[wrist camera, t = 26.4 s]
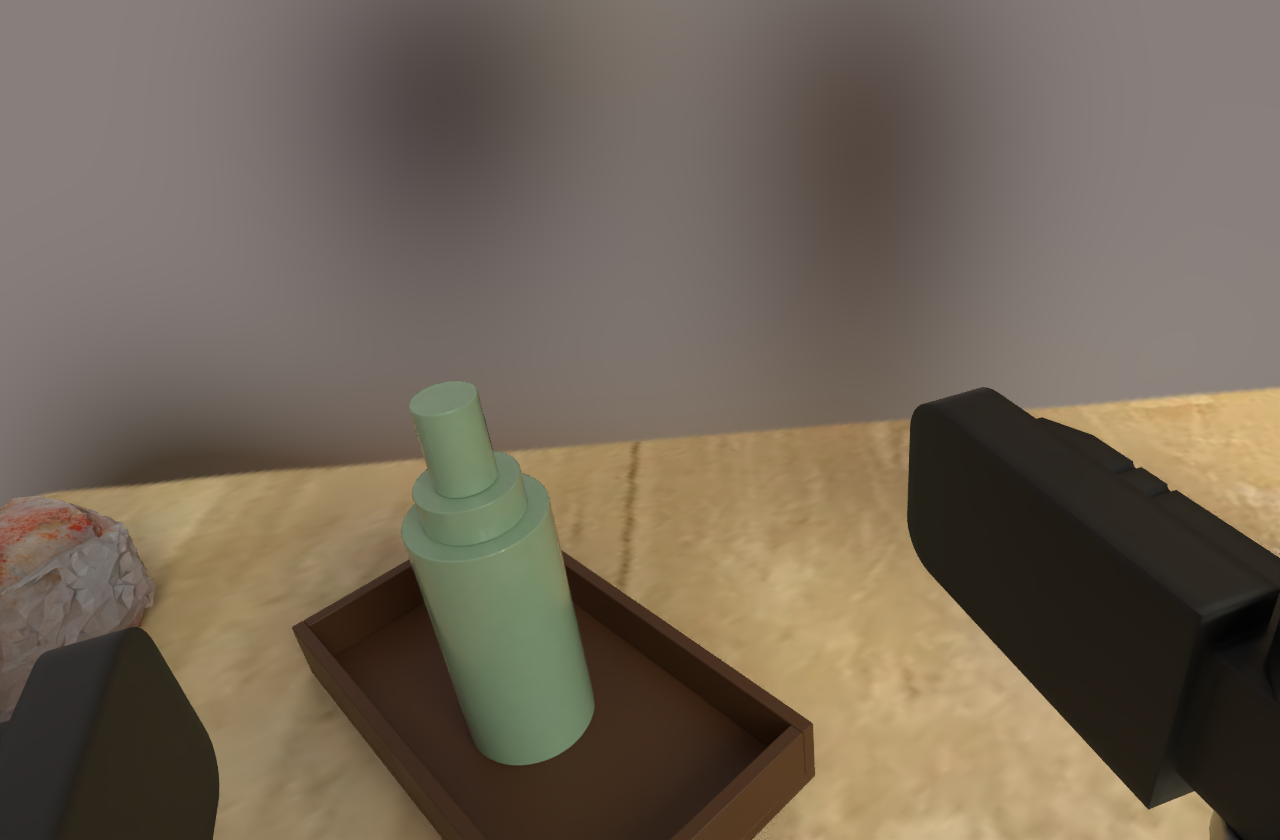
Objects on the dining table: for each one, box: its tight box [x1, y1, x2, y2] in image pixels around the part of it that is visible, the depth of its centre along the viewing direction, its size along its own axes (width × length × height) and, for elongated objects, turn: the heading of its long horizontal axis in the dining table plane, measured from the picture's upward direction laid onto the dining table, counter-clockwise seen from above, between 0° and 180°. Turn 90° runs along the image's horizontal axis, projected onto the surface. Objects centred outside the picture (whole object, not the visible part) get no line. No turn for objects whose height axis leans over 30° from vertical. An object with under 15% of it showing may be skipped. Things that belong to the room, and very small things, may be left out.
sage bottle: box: [401, 381, 595, 766], centre depth 34 cm, size 6×6×16 cm
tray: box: [292, 550, 815, 840], centre depth 37 cm, size 12×22×3 cm, turn 42°
